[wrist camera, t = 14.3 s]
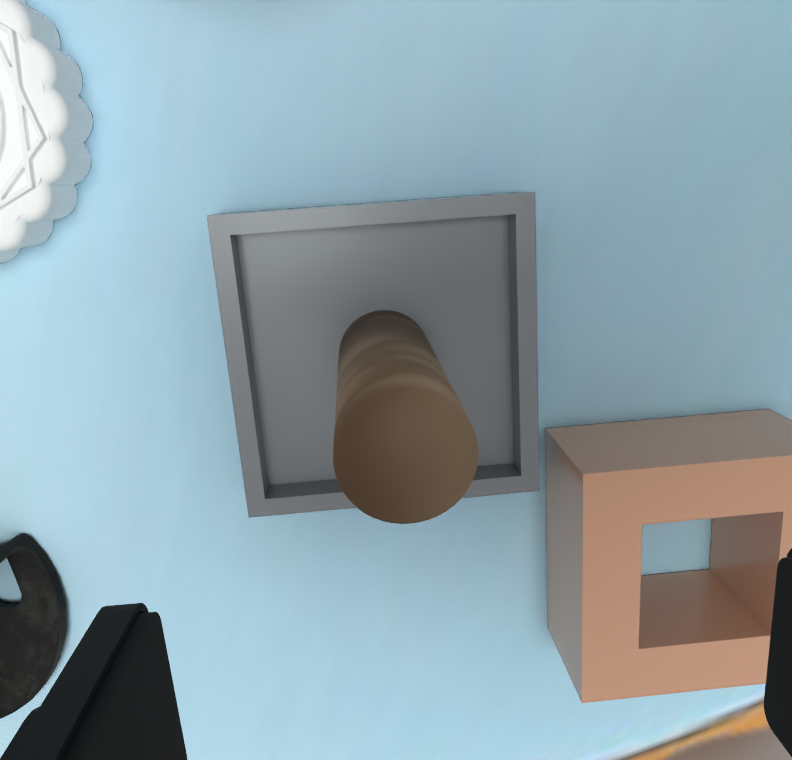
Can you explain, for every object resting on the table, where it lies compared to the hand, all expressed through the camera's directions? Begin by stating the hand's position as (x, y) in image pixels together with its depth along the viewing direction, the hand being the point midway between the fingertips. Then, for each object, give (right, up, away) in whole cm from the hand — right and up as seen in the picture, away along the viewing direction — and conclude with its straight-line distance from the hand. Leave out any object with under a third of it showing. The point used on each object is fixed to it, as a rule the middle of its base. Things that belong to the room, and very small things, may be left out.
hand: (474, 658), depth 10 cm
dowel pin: (-2, +5, +20) cm, 21 cm away
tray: (-2, +6, +21) cm, 22 cm away
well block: (+12, -3, +24) cm, 27 cm away
